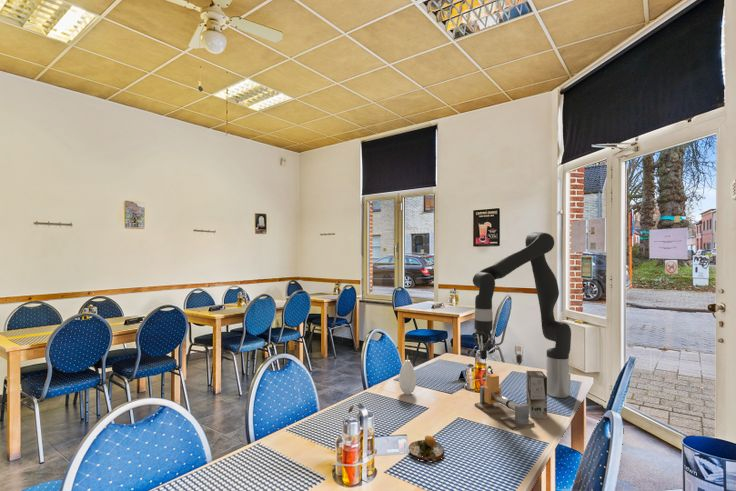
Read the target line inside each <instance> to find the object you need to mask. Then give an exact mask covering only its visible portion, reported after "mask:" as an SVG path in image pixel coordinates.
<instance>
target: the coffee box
mask: <svg viewBox="0 0 736 491" xmlns="http://www.w3.org/2000/svg"><path fill="white" fill-rule="evenodd" d="M525 382H526V404H527V405H529V418H536V419H547V418H548V399H547V398H548V394H547V375H545V374H544V372H543V371H541V370H526V381H525Z"/></svg>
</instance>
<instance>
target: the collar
mask: <svg viewBox="0 0 736 491" xmlns="http://www.w3.org/2000/svg"><path fill="white" fill-rule="evenodd" d="M485 378H486V382H485V383H486V385H485V386H486V387H484V401H485V402H486V403H488V404H492V403H499V402H498V401H496V400H494V399H492V398H491V392H493V391H495V392H497V393H498V394H500V395H502V387H500V375H498V374H496V373H490V374H489V373H488V374H486V377H485Z"/></svg>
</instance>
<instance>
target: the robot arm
mask: <svg viewBox="0 0 736 491" xmlns="http://www.w3.org/2000/svg"><path fill="white" fill-rule="evenodd" d="M524 242H525V247H523V248H522V249H520V250H518V251H516V252H515V251H514V252H512V253H510V254H508V255H506V256H504V257H502V258H501V259H499V260H497V261H495V263H493V264H492V265H489V266H487V267H485V268H483V269H481V270H480V271H477V273H475V274H474V276H472V283H473V285H474V286H475V287H476V288H478V289H479V291H478V294H476V296H475V299H474V300H475V301H474V303H475V304H474V306H475V307H474V329H475V330H476V331H475V334H472V339H473V341H474V344H475V346H476V348H478V350H479V357H480V359H481V360H483V361H484V360H487V358H488V356H487V354H488V351H490V350H491V349H492V347H493V346H494V344H495V339H493V338H492V335H491V332H492V331H493V329H494V328H493V324H494V323H493V322H494V320H493V318H494V317H493V313H494V312H493V296H494V293H495V290H496V289H495V288H496V281H495V280H499V279H503V278H505V277H506V276H508V275H509V274H511V273H512V272H514V271H515V270H518V268H520V267H522V266H523V265H525V264H527V263H528V262H530V264H531V270H532V274H533V278H534V284H535V289H536V295H537V299H538V306H539V312H540V322H541V330H542V335H543V337H544V338H545V339H546V340H548V341H552V342H554V343H555V346H554V347H551V348H547V349H546V377H547V396H551V397H553V398H556V399H557V398H558V399H560V398H561V399H565V398H569V397H570V396H571V374H570V372H569V371H570V364H569V362H570V358H569V356H570V352H571V345H572V344H571V343H572V342H571V341H572V329H571V326H570V325H569V324H568V323H566V322H563V321H557V320H556V318H555V314H554V308H555V305H556V304H557V302H558V300H559V296H560V290H559V289H560V288H559V286H558V285H559V284H558V280H557V277H556V275H555V274H554V272H553V270H552V269H551V267H550V265H549V264H548V262H547V258H546V254H548V253H549V252H551V251H552V250H553V249H554V247H555V238H554V236H552V234H550V233H547V232H538V231H537V232H536V231H533V232H530V233H528V234H527V235H526V238H525V241H524Z"/></svg>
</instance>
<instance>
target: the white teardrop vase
mask: <svg viewBox="0 0 736 491" xmlns="http://www.w3.org/2000/svg"><path fill="white" fill-rule="evenodd" d="M398 384H399V388H400V390H401V392H402V393H403V394H404V395H407V396H408V395H411V394H413V392H414V391H415V389H416V385H417V376H416V372H415V368H414V366H413V364H412V363H411V360H410V359H409V355H408V354H407V356H406V359H405V360H404V363H403V364H402V365H401V368H400V370H399V374H398Z"/></svg>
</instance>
